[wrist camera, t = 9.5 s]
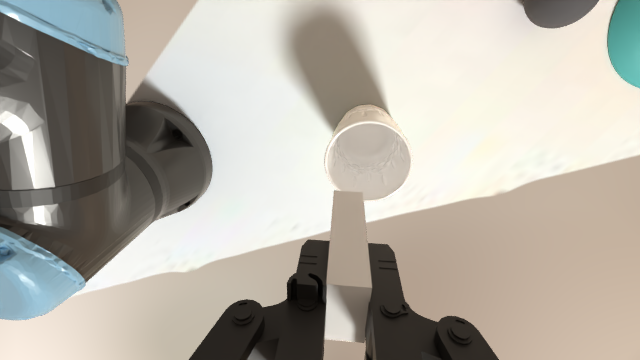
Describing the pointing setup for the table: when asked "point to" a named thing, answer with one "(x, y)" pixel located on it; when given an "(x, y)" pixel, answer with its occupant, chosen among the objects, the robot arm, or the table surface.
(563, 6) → the dark grey sphere
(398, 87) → the table surface
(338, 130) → the white cup
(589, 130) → the table surface
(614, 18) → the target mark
